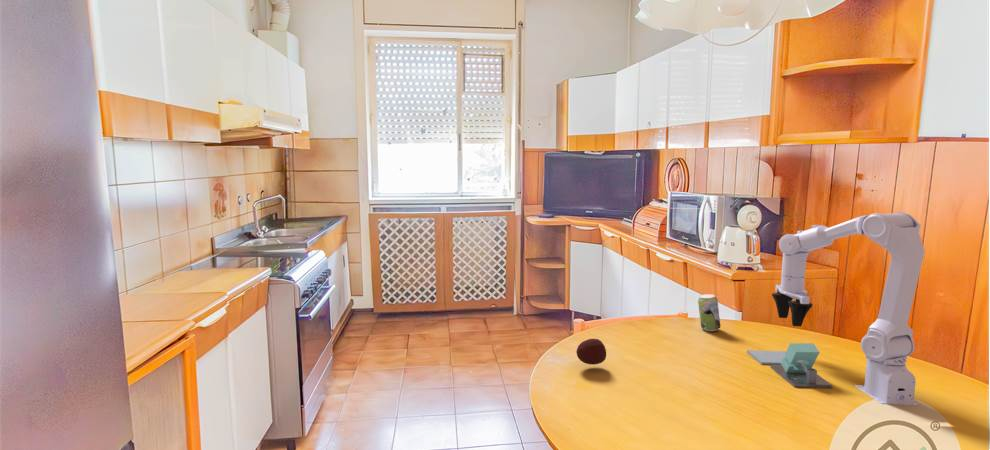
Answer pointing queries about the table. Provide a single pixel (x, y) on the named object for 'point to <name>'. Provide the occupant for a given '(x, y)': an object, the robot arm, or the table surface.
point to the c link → (799, 356)
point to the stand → (802, 376)
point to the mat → (768, 356)
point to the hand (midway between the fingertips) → (789, 321)
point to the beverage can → (709, 312)
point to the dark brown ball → (591, 351)
